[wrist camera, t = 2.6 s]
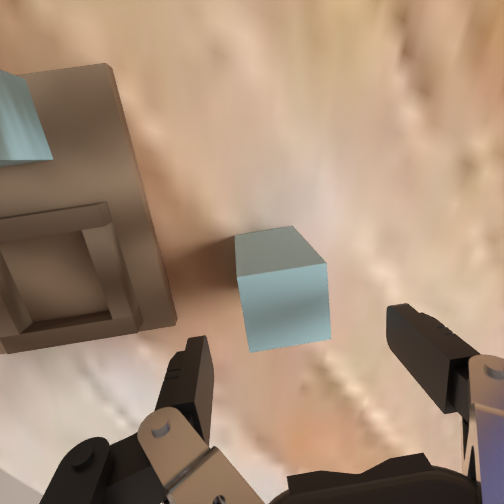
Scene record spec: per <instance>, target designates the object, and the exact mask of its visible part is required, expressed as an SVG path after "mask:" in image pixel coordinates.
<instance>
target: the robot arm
mask: <svg viewBox="0 0 504 504" xmlns="http://www.w3.org/2000/svg"><path fill="white" fill-rule="evenodd" d="M386 338H387V342H388V345H389V347H390V349H391V351H392V352H393V353H394V354H395V356H396V357H397V358H398V359H399V360H400V362H401V363H402V364H403V365H404V366H405V368H406V369H407V370H408V371H409V372H410V374H411V375H412V376H413V377H414V378H415V380H416V381H417V382H418V383H419V384H420V386H421V387H422V388H423V389H424V390H425V392H426V393H427V394H428V395H429V396H430V398H431V399H432V400H433V401H434V402H435V404H436V405H437V406H438V407H439V408H440V410H441V411H442V412H443V413H444V414H448V413H454V412H458V413H459V414H460V415H461V416H462V418H461V451H462V474H461V473H458V472H456V471H453V470H450V469H447V468H443V467H438V466H432V465H431V464H430V462H429V461H428V459H427V458H426V456H425V455H424V453H419V454H413V455H407V456H401V457H396V458H390V459H388V460H386V461H384V462H382V463H380V464H379V465H377V466H375V467H373V468H371V469H369V470H367V471H365V472H363V473H361V474H349V473H340V472H330V471H315V472H309V473H304V474H298V475H292V476H287V481H288V488H289V489H288V490H286V491H284V492H283V493H281V494H280V495H278V496H277V497H275V498H274V499H273V500H272V501H271V502H270V503H269V504H504V359H503V358H500V357H496V356H492V355H481V354H480V353H479V352H477V351H476V350H475V349H474V348H472V347H471V346H470V345H469V344H467V343H466V342H465V341H463V340H462V339H461V338H460V337H458V336H457V335H456V334H453V332H452V331H451V330H449V329H448V328H447V327H445V326H444V325H443V324H442V323H440V322H439V321H438V320H437V319H435V318H433V317H431V316H429V315H427V314H424V313H419V312H417V311H416V310H415V309H414V308H412V307H411V306H410V305H409V304H407V303H404V304H398V305H392V306H388V307H387V317H386ZM213 387H214V368H213V363H212V358H211V354H210V350H209V345H208V341H207V337H206V336H205V335H204V336H198V337H192V338H188V340H187V344H186V349H185V351H180V352H177V353H176V354H175V355H174V356H173V358H172V359H171V360H170V362H169V365H168V368H167V373H166V375H165V378H164V381H163V385H162V388H161V391H160V394H159V398H158V401H157V404H156V408H155V411H154V412H152V413H151V414H150V415H148V416H147V417H146V418H145V419H144V421H143V422H142V423H141V425H140V427H139V429H138V432H137V433H135V434H133V435H131V436H130V437H127V438H125V439H123V440H121V441H118V442H116V443H114V444H112V445H109V443H108V441H107V440H106V439H105V438H102V437H93V438H90V439H87V440H85V441H83V442H81V443H79V444H78V445H76V446H75V447H74V448H73V449H71V450H70V451H69V452H68V453H67V454H66V456H65V457H64V458H63V459H62V461H61V462H60V464H59V466H58V468H57V470H56V472H55V474H54V476H53V478H52V480H51V482H50V484H49V486H48V488H47V490H46V492H45V494H44V495H43V497H42V499H41V501H40V503H39V504H160V503H162V504H265V503H264V502H263V501H262V499H261V498H260V497H259V496H258V495H257V494H256V492H255V491H254V490H253V489H252V488H251V486H250V485H249V484H248V483H247V482H246V481H245V479H244V478H243V477H242V476H241V475H240V473H239V472H238V471H237V470H236V469H235V467H234V466H233V465H232V464H231V463H230V462H229V460H228V459H227V458H226V457H225V456H224V454H223V453H222V452H221V451H220V450H219V449H218V448H217V447H215V446H213V447H212V448H211V449H210V448H209V438H210V425H211V412H212V399H213Z"/></svg>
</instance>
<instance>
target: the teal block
mask: <svg viewBox="0 0 504 504" xmlns="http://www.w3.org/2000/svg"><path fill="white" fill-rule="evenodd" d="M235 254H236V274H237V282H238V288H239V293H240V299H241V305H242V311H243V317H244V322H245V328H246V334H247V340H248V345H249V351H250V353H251V352H257V351H263V350H269V349H275V348H281V347H287V346H293V345H299V344H305V343H311V342H317V341H323V340H329V339H331V327H330V310H329V293H328V277H327V263H326V262H325V261H324V259H323V258H322V257H321V256H320V255H319V254H318V253H317V252H316V251H315V250H314V249H313V247H312V246H311V245H310V244H309V243H308V242H307V241H306V240H305V239H304V238H303V237H302V235H301V234H300V233H299V232H298V231H297V230H296V229H295V228H294V227H293V226H290V227H284V228H277V229H271V230H265V231H258V232H252V233H245V234H239V235H235Z"/></svg>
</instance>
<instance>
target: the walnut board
mask: <svg viewBox="0 0 504 504" xmlns="http://www.w3.org/2000/svg"><path fill="white" fill-rule="evenodd" d="M176 322H177V315H176V311H175V307H174V303H173V299H172V296H171V292H170V288H169V284H168V280H167V277H166V273H165V269H164V265H163V261H162V257H161V254H160V250H159V246H158V242H157V238H156V234H155V231H154V227H153V223H152V219H151V215H150V211H149V208H148V204H147V200H146V196H145V192H144V188H143V185H142V181H141V177H140V173H139V169H138V165H137V162H136V158H135V154H134V150H133V146H132V142H131V139H130V135H129V131H128V127H127V123H126V119H125V116H124V112H123V108H122V104H121V100H120V97H119V93H118V89H117V85H116V81H115V77H114V74H113V70H112V68H111V67H110V66H109V65H107V64H106V63H101V64H94V65H87V66H80V67H73V68H66V69H59V70H51V71H44V72H37V73H30V74H23V75H16V76H15V75H13V74H10V73H8V72H5V71H2V70H0V354H4V353H7V354H11V353H17V352H23V351H29V350H36V349H42V348H48V347H54V346H60V345H66V344H72V343H78V342H85V341H91V340H97V339H103V338H109V337H115V336H121V335H128V334H134V333H138V332H139V331H145V330H151V329H157V328H163V327H170V326H175V325H176Z"/></svg>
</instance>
